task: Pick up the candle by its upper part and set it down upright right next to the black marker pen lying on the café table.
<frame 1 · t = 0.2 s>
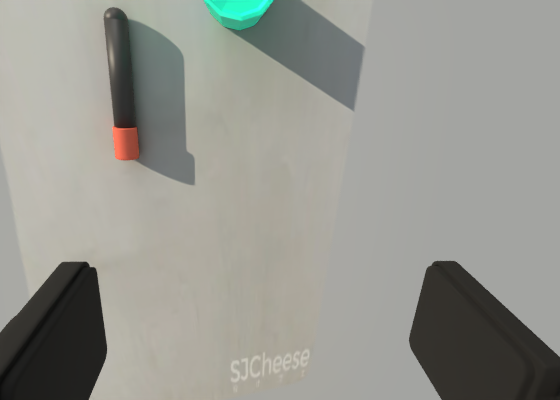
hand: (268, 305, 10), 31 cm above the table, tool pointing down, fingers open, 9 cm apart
marker: (124, 86, 36), on the table
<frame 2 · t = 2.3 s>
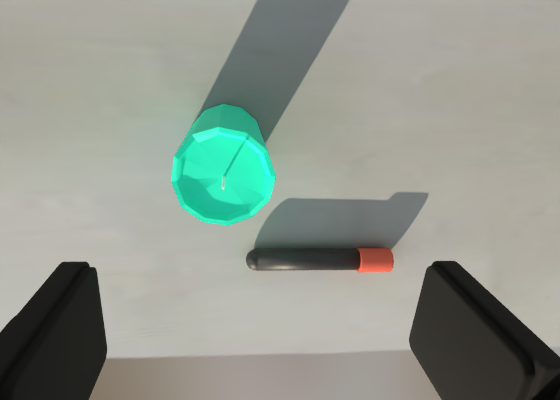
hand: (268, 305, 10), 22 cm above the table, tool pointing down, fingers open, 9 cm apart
marker: (316, 254, 35), on the table
candle: (226, 139, 30), on the table
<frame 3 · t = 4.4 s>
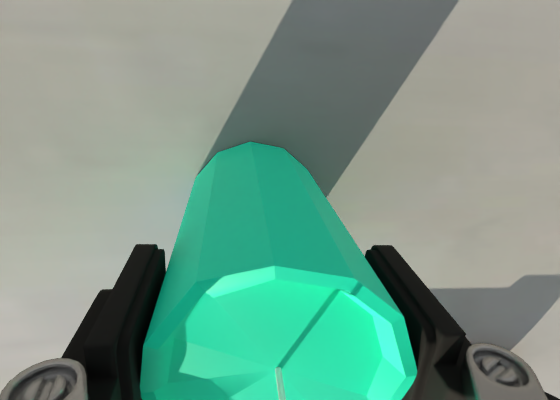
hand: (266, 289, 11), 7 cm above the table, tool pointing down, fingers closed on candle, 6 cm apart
candle: (254, 201, 17), on the table, touching gripper
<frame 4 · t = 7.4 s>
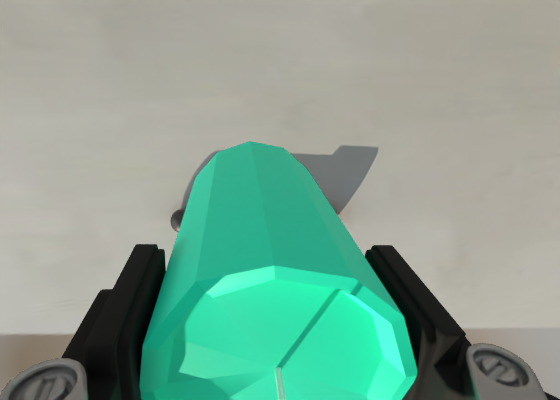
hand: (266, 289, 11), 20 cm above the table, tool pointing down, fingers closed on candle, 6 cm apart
candle: (254, 201, 17), point 13 cm above the table, touching gripper
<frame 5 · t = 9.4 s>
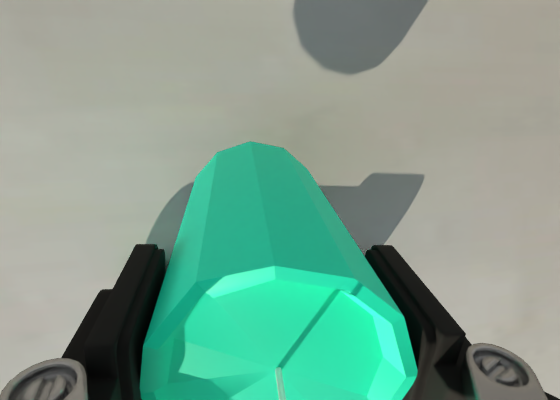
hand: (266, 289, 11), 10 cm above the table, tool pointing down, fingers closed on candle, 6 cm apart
candle: (254, 201, 17), point 3 cm above the table, touching gripper
when the fingers open (7 cm above the table, at t = 10.7 s): candle stays where it is, on the table.
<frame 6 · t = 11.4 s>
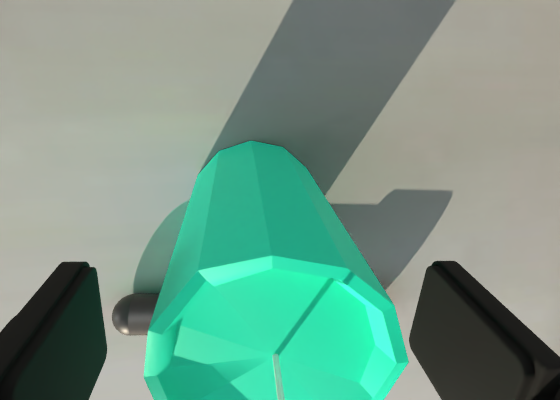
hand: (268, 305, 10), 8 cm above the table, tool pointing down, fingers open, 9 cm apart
marker: (251, 300, 20), on the table
candle: (254, 198, 18), on the table
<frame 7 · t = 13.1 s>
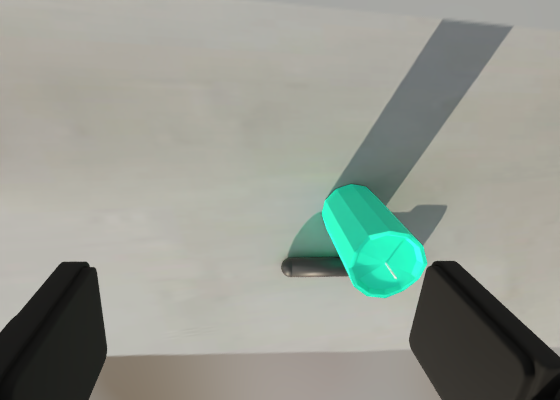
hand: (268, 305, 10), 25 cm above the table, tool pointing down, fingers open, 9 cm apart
marker: (344, 261, 39), on the table
candle: (349, 210, 37), on the table
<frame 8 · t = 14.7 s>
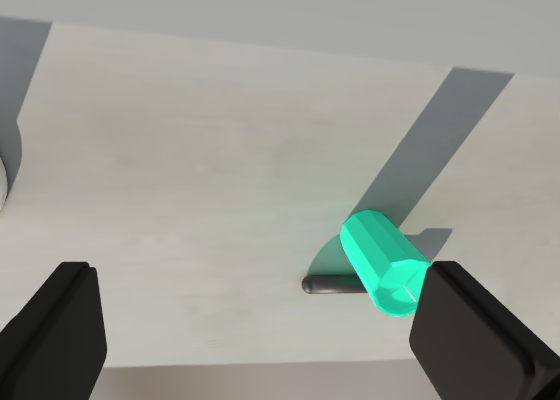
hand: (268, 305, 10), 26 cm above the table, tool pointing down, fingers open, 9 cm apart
marker: (358, 279, 43), on the table
candle: (365, 233, 41), on the table
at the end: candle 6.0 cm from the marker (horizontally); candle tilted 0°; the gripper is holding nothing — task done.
